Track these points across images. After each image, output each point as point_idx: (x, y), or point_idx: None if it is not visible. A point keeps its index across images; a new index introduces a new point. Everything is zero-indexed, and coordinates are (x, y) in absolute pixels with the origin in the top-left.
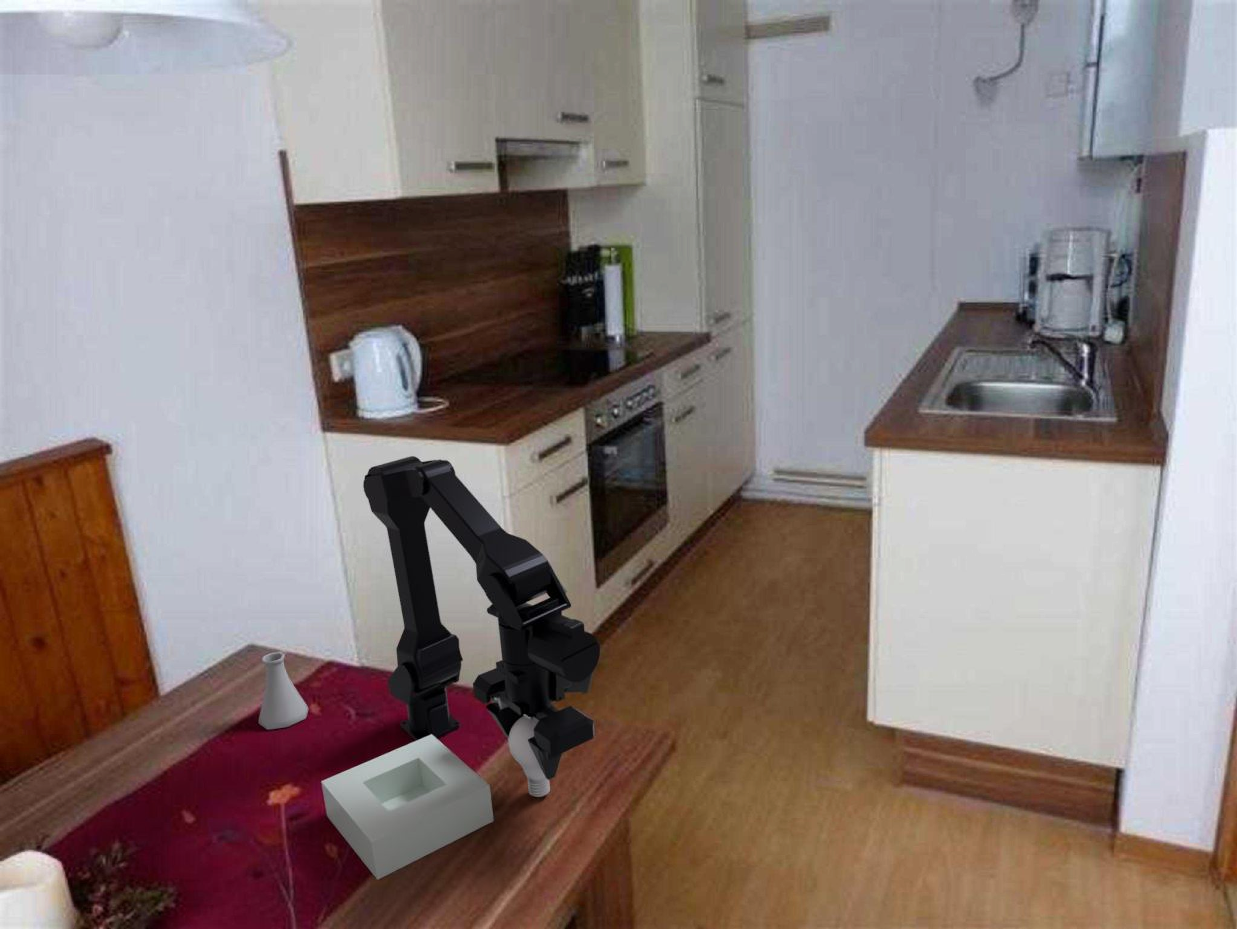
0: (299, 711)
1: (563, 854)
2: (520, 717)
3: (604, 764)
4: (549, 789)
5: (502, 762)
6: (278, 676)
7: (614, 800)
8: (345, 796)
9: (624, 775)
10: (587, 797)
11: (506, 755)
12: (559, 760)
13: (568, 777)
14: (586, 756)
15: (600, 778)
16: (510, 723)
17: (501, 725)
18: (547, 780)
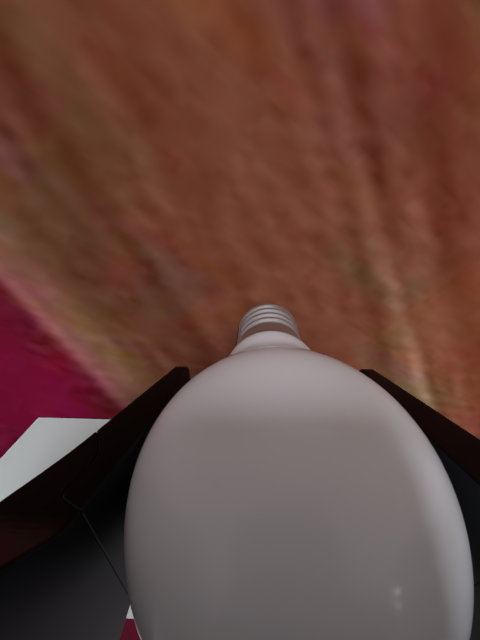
0: None
1: (471, 389)
2: (91, 568)
3: (287, 43)
4: (288, 313)
5: (82, 319)
6: None
7: (472, 171)
8: (129, 613)
9: (414, 15)
10: (380, 233)
11: (54, 296)
12: (444, 418)
13: (256, 219)
14: (191, 76)
15: (344, 128)
16: (118, 586)
17: (123, 622)
18: (300, 339)
